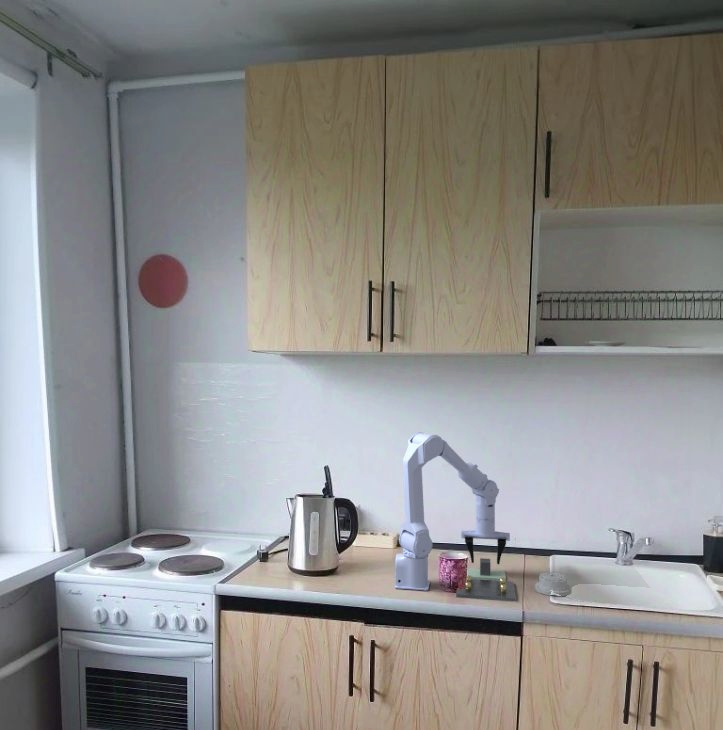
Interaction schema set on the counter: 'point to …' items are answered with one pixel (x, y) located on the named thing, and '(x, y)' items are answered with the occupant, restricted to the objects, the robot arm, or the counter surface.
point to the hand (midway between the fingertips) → (485, 562)
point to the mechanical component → (553, 584)
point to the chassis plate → (488, 589)
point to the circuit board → (493, 574)
